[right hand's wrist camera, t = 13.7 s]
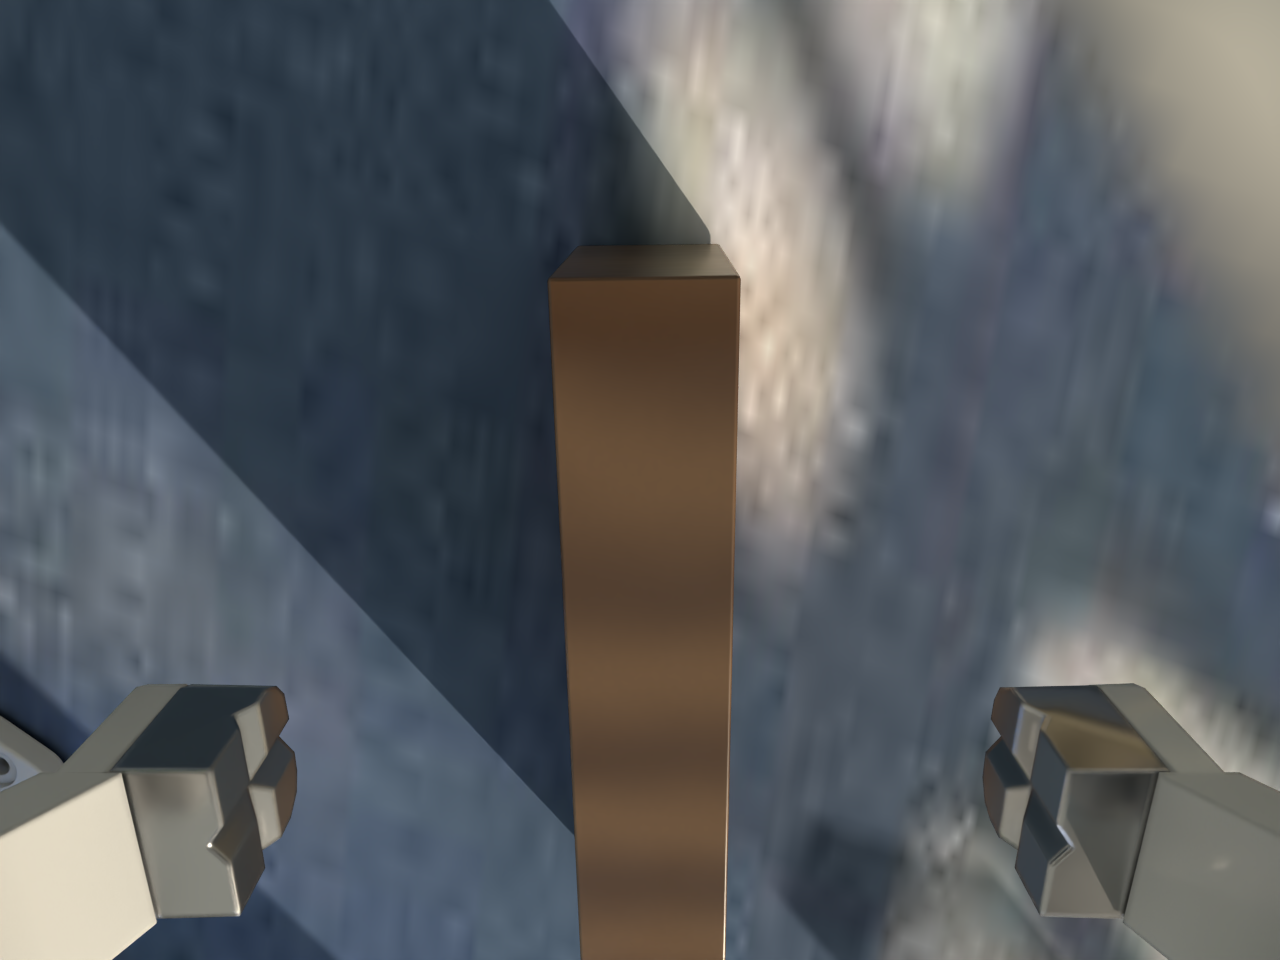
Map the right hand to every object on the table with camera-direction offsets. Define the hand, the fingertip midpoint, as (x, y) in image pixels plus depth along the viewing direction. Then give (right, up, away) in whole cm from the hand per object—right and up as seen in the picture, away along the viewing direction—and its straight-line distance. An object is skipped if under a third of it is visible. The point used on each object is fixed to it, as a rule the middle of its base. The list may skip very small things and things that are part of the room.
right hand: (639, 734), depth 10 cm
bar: (0, -1, +22) cm, 22 cm away
